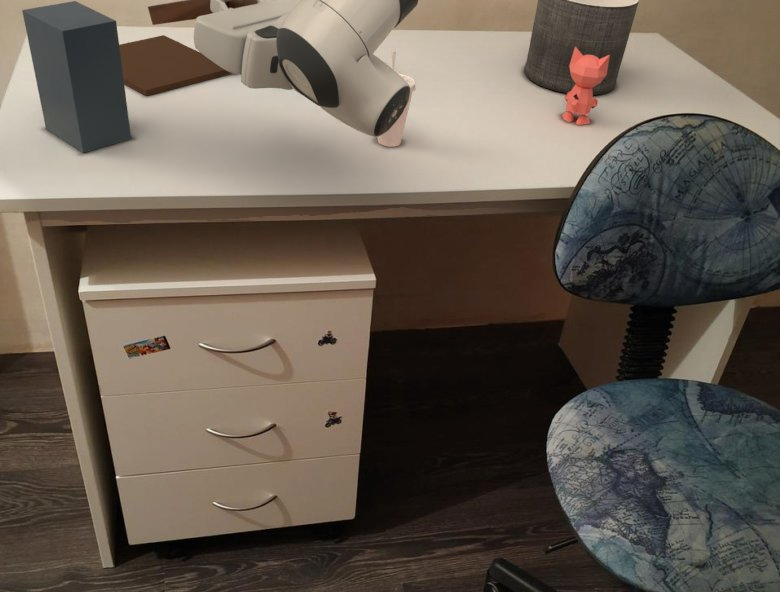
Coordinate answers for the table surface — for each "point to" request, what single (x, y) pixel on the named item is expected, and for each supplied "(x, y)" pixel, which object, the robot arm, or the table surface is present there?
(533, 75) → the planter
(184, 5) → the brown wooden bar
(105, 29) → the stand
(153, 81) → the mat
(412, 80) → the smoothie
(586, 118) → the cat figurine
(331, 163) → the table surface
